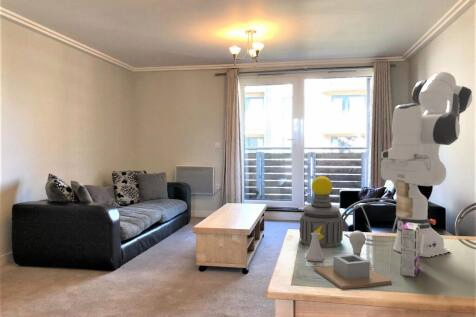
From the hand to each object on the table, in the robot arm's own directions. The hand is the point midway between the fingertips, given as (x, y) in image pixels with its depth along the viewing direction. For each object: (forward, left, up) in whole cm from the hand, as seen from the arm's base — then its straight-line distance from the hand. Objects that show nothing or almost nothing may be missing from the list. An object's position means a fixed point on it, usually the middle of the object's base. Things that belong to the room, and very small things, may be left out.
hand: (404, 196), depth 121 cm
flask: (+17, -28, -28) cm, 43 cm away
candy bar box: (-9, -7, -28) cm, 30 cm away
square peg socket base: (+14, -8, -28) cm, 32 cm away
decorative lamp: (+3, -49, -28) cm, 57 cm away
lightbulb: (+1, -24, -28) cm, 37 cm away
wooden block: (0, 0, -7) cm, 7 cm away
